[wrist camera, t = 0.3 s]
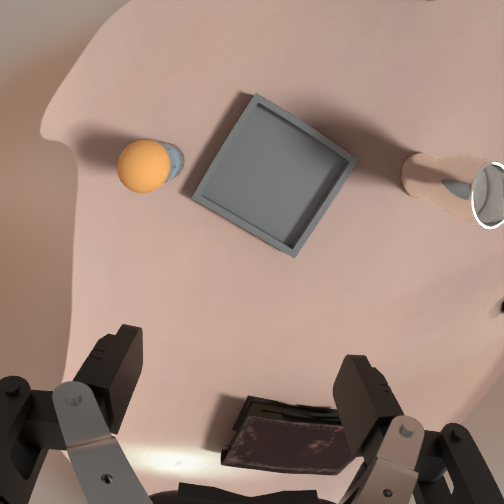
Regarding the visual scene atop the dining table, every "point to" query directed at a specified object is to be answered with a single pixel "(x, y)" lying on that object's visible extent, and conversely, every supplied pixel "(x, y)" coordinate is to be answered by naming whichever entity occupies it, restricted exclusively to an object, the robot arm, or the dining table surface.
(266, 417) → the diary
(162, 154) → the ball
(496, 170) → the beer glass
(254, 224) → the tray
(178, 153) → the cup
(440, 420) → the dining table surface
